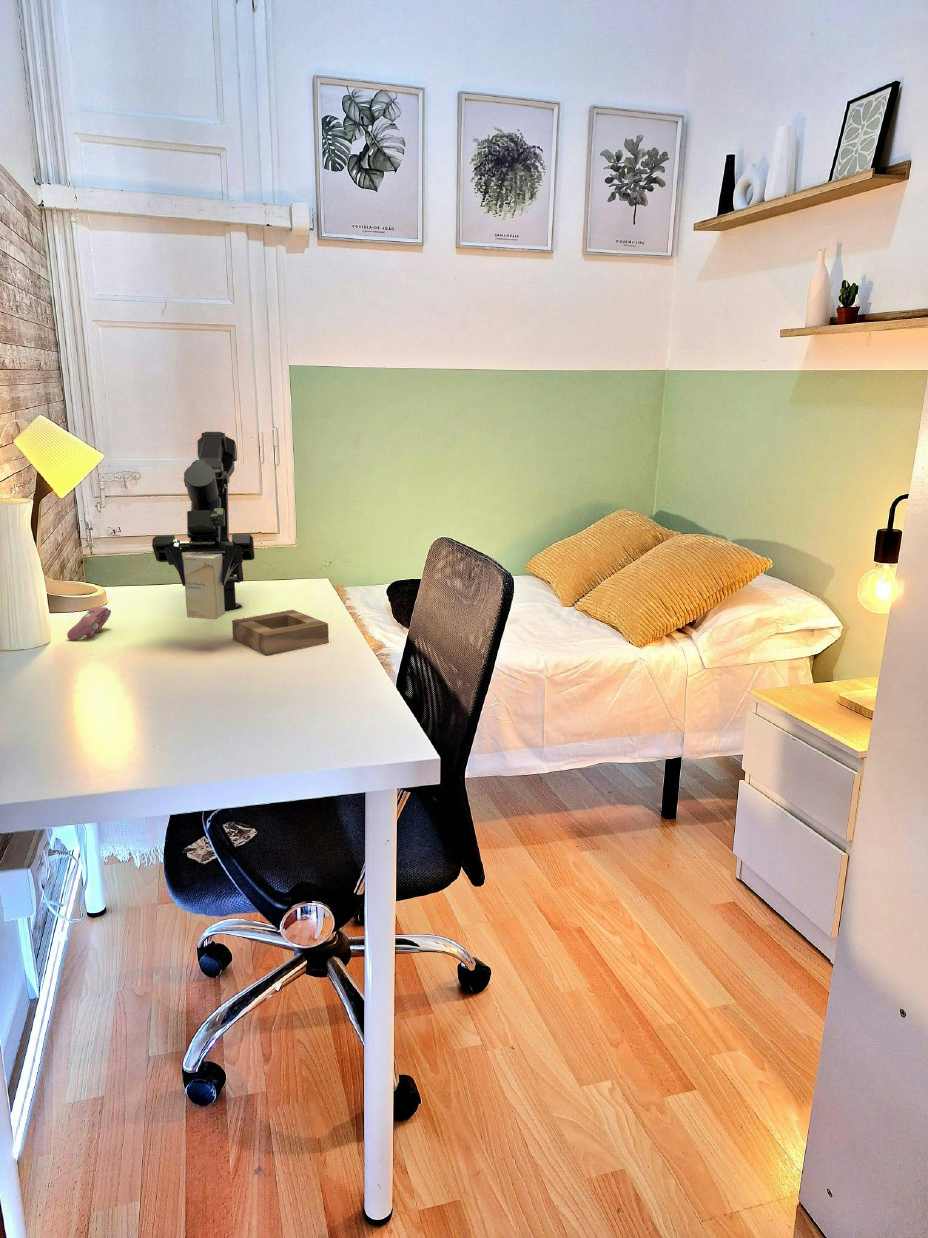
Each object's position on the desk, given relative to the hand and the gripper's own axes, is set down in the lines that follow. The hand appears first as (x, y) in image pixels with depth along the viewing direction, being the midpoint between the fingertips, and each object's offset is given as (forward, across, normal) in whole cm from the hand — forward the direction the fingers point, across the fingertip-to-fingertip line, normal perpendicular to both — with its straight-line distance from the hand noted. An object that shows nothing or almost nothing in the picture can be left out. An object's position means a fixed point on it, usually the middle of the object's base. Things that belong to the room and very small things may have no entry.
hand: (203, 584), depth 160 cm
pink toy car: (0, -25, +20) cm, 32 cm away
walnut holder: (+6, +14, +13) cm, 20 cm away
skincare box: (+4, 0, +6) cm, 7 cm away
